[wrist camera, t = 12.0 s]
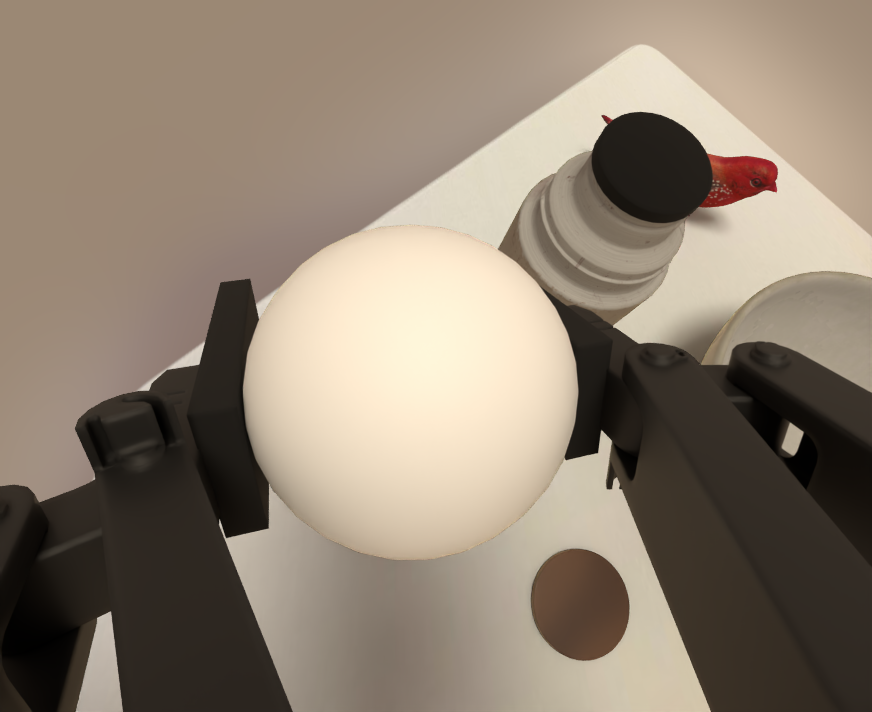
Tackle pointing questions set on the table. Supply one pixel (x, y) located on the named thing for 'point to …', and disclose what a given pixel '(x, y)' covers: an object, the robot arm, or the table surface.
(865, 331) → the decorative bowl
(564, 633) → the walnut coaster
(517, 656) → the table surface
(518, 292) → the lightbulb
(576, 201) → the thermos bottle
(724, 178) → the decorative bird figurine
